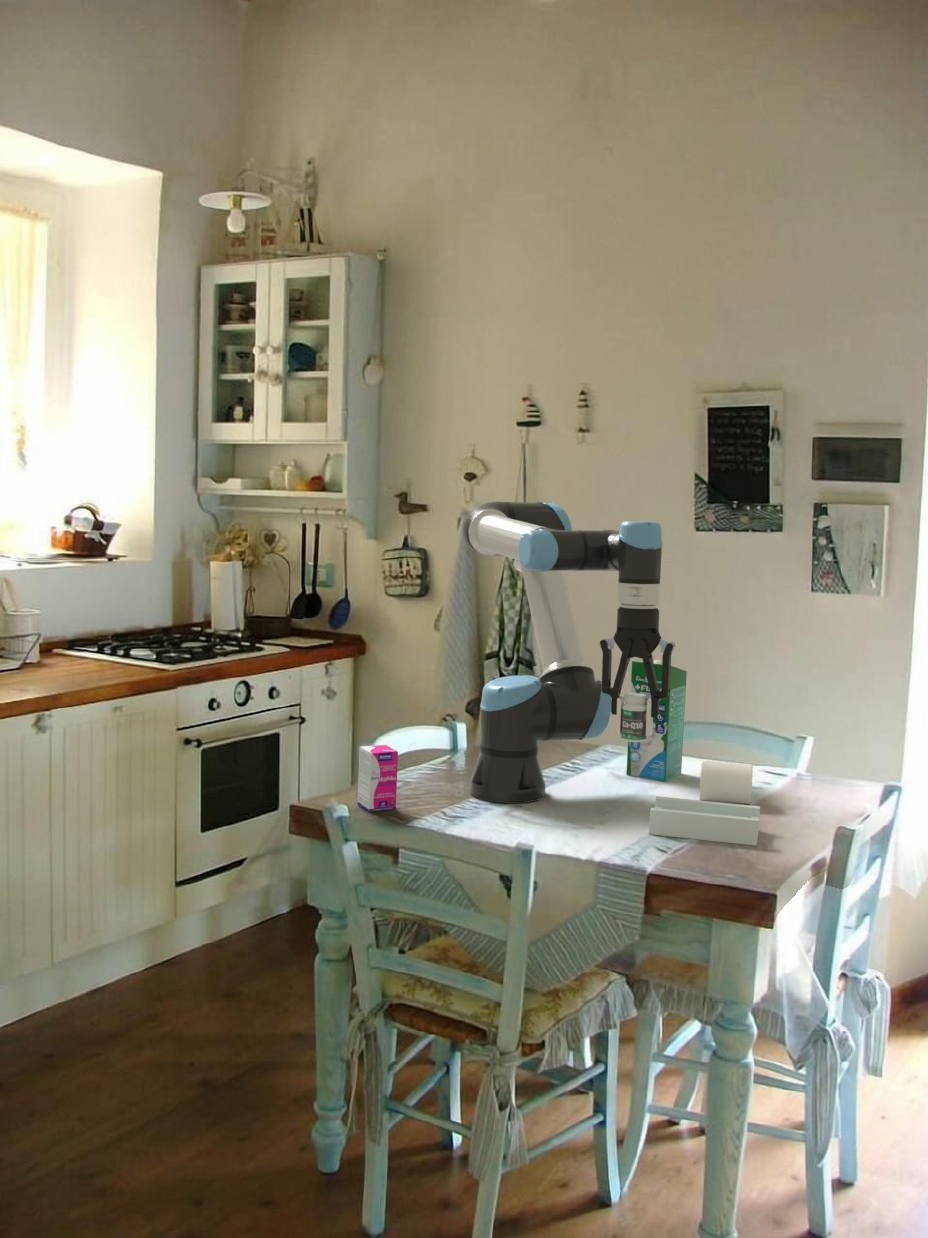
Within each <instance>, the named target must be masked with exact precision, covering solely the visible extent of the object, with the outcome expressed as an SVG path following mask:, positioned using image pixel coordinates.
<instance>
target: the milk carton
mask: <svg viewBox="0 0 928 1238" xmlns="http://www.w3.org/2000/svg"><path fill="white" fill-rule="evenodd" d="M653 664H654V669H655V674H656V679H657V684H658V689H659V691H661V683H662V659H653ZM687 673H688V672H687V670H684V669H682V668H678V667H676V666H673V663H672V661H671V675H670V694H669V695H668V696H667V697H664V698H661V699H660V700H659V715H658V717H657V718H654V717H653V730H652V735H651V736H647V737H646V741H644V742H627V751H626V752H627V753H626V755H627V756H626V775H627V776H632V777H636V778H643V779H649V780H654V781H660V782H666V781H668V780H670V779H672V778H674V777H676V776H678V775H681V774H682V765H683V750H684V749H683V746H684V745H683V744H684V743H683V742H684V728H685V712H686V711H685V710H686V708H685V707H686V692H687V691H686V690H687V689H686V688H687V675H688V674H687ZM630 674H631V675H630V689H629V690H630V692H629V693H640V694H645V695H646V703H645V705H646V706H647V700H648V699H649V698H651V695H650V690H649V685H648V680H647V676H646V671H645V666H644V663H643V661H638V660H637V661H636V660H631V671H630Z"/></svg>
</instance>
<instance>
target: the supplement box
mask: <svg viewBox="0 0 928 1238" xmlns="http://www.w3.org/2000/svg"><path fill="white" fill-rule="evenodd" d="M358 752H359V755H358V757H359V758H358V776H357V777H358V778H357V779H358V781H357V782H358V783H357V805H358V806H359V807H361V808H362V809H363V810H364V811H367V812H368V813H369V812H370V813H371V812H375V811H376V812H377V811H389V810H396V808H397V791H398V789H397V786H398V763H399V762H398V761H399V751H398V750H397V749H394V748H393V747H390V746H389V745H388V744H380V745H379V744H378V745H366V746H365V745H362V746H359V751H358Z"/></svg>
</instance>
